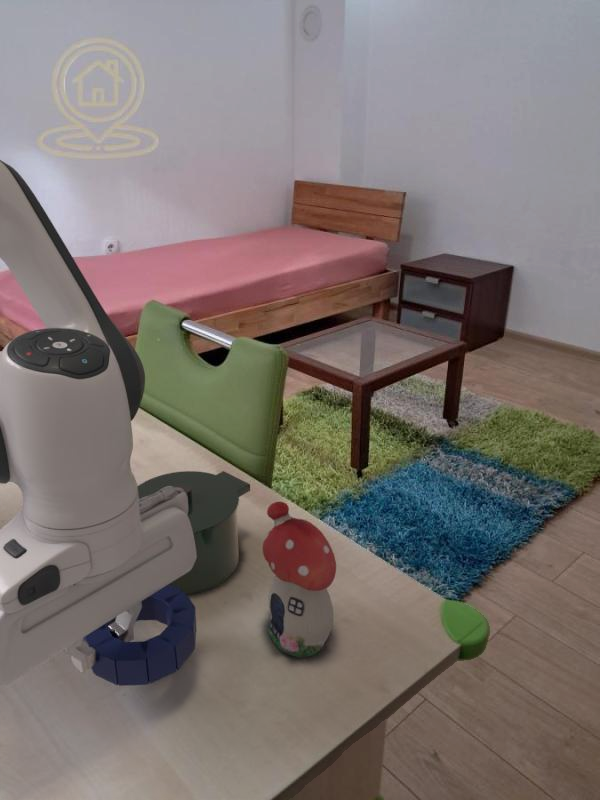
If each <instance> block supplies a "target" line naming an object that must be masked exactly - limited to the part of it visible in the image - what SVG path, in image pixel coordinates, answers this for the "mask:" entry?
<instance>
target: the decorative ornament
mask: <svg viewBox="0 0 600 800" xmlns="http://www.w3.org/2000/svg"><path fill="white" fill-rule="evenodd" d="M289 511H290V507H289V505H288V504H287V503H286V502H284V501H275V502H272V503H271V504H270V505H268V508H267V510H266V514H267V516H268V517H269V518H270V519H271V520H272V521H273V523H274V526H273V527H272V529H270V530H269V532H267V534H266V535H265V537H264V540H263V544H262V555H263V557H264V559H265V561H266V562H267V564H268V566H269V568H270V570H271V572H272V574H274V577H273V578H272V581H271V583H270V586H269V590H268V597H267V599H268V600H267V602H268V609H269V613H270V620H269V621H268V623H267V631H268V634H269V637H270V639H271V640H272V641H273V643H274V645H275V646H276V647H277V648H278V649H279V650H280V651H281V652H282V653H284V654H287V655H289V656H291V657H295V658H297V659H300V658H306V657H311V656H312V657H313V656H315V655H318V653H319V652H320V651H321V650H322V649H323V647H324V645H325V642H326V641H327V640H328V638H329V635H330V634H331V631H332V629H333V623H334V607H333V602H332V599H331V596H330V593H329V590H328V588H329V587H330V586H331V585H332V583H333V582H334V580H335V577H336V572H337V562H336V557H335V554H334V551H333V549H332V546H331V544H330V543H329V540H328V539H327V538H326V536H325V535H324V534H323V532H322V531H321V530H320V529H319V528H318V527H317V526H316V525H314V524H313V523H312V522H311V521H309V520H307V519H303V518H297V517H293V516H291V515H290V514H289Z"/></svg>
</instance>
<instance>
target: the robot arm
mask: <svg viewBox="0 0 600 800" xmlns="http://www.w3.org/2000/svg"><path fill="white" fill-rule="evenodd" d="M0 259H1V260H2V262H3V263H4V264H5V265H6V267H7V268H8V270H9V271H10V273H11V275H12V276H13V278H14V279H15V281H16V282H17V284H18V285H19V287H20V289H21V290H22V292H23V294H24V295H25V297H26V298H27V300H28V302H29V303H30V305H31V306H32V308H33V309H34V311H35V313H36V314H37V316H38V317H39V319H40V321H41V322H42V324H43V326H44V327H45V328H40V329H35V330H31V331H27V332H25V333H22V334H20V335H18V336H16V337H15V338H13V339H12V340H11V341H9V342H8V343H7V344H6V345H5V346H4V347H3V349H2V350H1V351H0V484H2V485H5V484H7V483H13V484H15V485H16V486H18V488H19V490H20V491H21V494H22V504H21V510H20V511H19V512H18V513H17V514H16V515H15V516H14V517H13V518H12V519H10V520H9V522H7V523H6V524H5V525H4V526H2V527H1V528H0V687H6V686H8V685H10V684H12V683H13V682H15V681H17V680H18V679H20V677H22V676H24V675H25V674H28V673H29V672H31V671H32V670H33V669H35V668H37V667H38V666H40V665H42V664H44V662H47V661H49V659H51V658H53V657H55V656H56V655H57V654H59V653H61V652H62V651H64V652H65V653H67V655H69V656H70V657H71V662H72V664H73V666H74V668H75V669H77V670H78V671H79V672H80V673H81V674H84V673H86V672H87V671H88V670H90V669H91V667H93V666H94V665H95V664H97V663H98V662H97V659H96V657H97V655H96V650H94V649H93V648H92V647H89V644H88V643H87V642H86V641H83V637H85V636H86V635H88V634H90V633H91V632H93V631H94V630H96V629H98V628H99V627H101V626H102V625H104V624H106V623H107V622H109V621H110V620H112V619H114V618H115V617H116V621H115V622H113V623H112V624H110V625H109V626H108V628H109V631H110V633H111V634H112V636H113V637H115V638H118V639H120V640H122V641H124V642H133V640H135V639H134V638H135V636H134V626H135V624H136V622H137V621H136V620H137V617H138V615H139V613H140V610H141V608H142V602H141V601H142V600H144V599H146V598H147V597H149V596H150V595H152V594H154V593H155V592H157V591H158V590H160V589H162V588H163V587H165V586H166V585H168V584H170V583H171V582H173V581H174V580H176V579H178V578H179V577H181V576H183V575H184V574H186V573H187V572H189V571H190V570H191V569H192V567H193V565H194V563H195V560H196V557H197V555H196V546H195V540H194V535H193V531H192V527H191V523H190V520H189V518H188V516H187V515H188V497H187V494H186V493H185V491H184V490H183V489H181V488H178V487H175V488H173V487H172V486H167V487H164V488H162V489H160V490H159V491H158V492H156V493H154V494H152V495H149V496H146V497H144V498H142V499H139V495H138V486H139V485H138V482H137V479H136V477H135V475H134V473H133V471H132V466H131V459H132V454H133V451H134V436H133V435H134V434H133V428H132V421H133V420H134V419H135V417H136V415H137V413H138V411H139V409H140V406H141V404H142V401H143V397H144V393H145V387H146V372H145V368H144V365H143V363H142V360H141V357H140V355H139V354H138V353H137V350H136V349H135V347H134V346H133V345H132V344H131V342H130V341H129V339H128V338H127V337H126V336H125V335H124V334H123V332H122V331H121V330H120V329H119V327H117V325H116V324H115V323H114V322H113V320H112V319H111V318H110V316H109V315H108V314H107V312H106V311H105V309H104V308H103V306H102V304H101V302H100V301H99V299H98V297H97V296H96V294H95V293H94V291H93V289H92V288H91V286H90V284H89V283H88V281H87V279H86V277H85V276H84V273H82V271H81V269H80V268H79V265H78V264H77V262H76V261H75V259H74V257H73V256H72V254H71V252H70V251H69V249H68V247H67V246H66V243H65V242H64V240H63V239H62V237H61V236H60V234H59V231H58V230H57V229H56V227H55V226H54V224H53V222H52V220H51V218H50V217H49V216H48V213H47V212H46V210H45V209H44V208H43V206H42V205H41V203H40V201H39V200H38V198H37V196H36V195H35V193H34V191H33V190H32V189H31V187H30V186H29V184H28V183H27V182H26V180H25V179H24V178H23V177H22V175H21V174H20V173H19V172H18V171H17V170H16V169H15V168H14V167H12V165H10V164H8V163H6V162H4V161H3V160H1V159H0Z"/></svg>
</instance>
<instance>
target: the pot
mask: <svg viewBox="0 0 600 800" xmlns="http://www.w3.org/2000/svg"><path fill="white" fill-rule="evenodd" d="M137 486H138V495H139V499H142V498H144V497H146V496H149V495H152V494H154V493H156V492H158V491H159V490H160V489H162V488H164V487H167V486H172V487H173V488H175V487H178V488H181V489H183V490H184V491H185V493H186V494H187V497H188V515H187V516H188V518H189V520H190V523H191V527H192V531H193V535H194V540H195V546H196V555H197V557H196V560H195V563H194V565H193V567H192V569H191V570H190V571H189V572H187V573H186V574H184V575H183V576H181V577H179V578H178V579H176V580H174V581H173V582H171V583H170V584H168V585H171V586H173V587H176V588H178V589H181V590H183V591H184V592H185V594H186V595H187V596H188V595H189V596H190V595H194V594H199V593H203V592H206V591H209V590H212V589H213V588H216V587H217V586H219V585H220V584H222V583H224V582H226V580H227V579H228V578H230V577H231V576H232V574H233V573H234V572H235V570H236V569H237V567H238V564H239V559H240V558H239V557H240V556H239V554H240V553H239V529H238V528H239V527H238V507H239V504H240V497H241V496H243V495H246V494H248V493H249V492H250V491H251V484H250V483H248V482H246V481H244V480H242V479H240V478H239V477H236V476H235V475H233V474H230V473H229V472H226V471H224V470H223V471H220V472H219V473H217V474H215V473H212V472H211V473H210V472H205V471H193V470H191V471H190V470H186V471H183V470H182V471H175V472H169V473H164V474H161V475H158V476H155V477H151V478H150V479H148V480H145V481H144V482H142V483H140V484H138V485H137Z"/></svg>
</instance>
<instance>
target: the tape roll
mask: <svg viewBox="0 0 600 800" xmlns="http://www.w3.org/2000/svg"><path fill="white" fill-rule="evenodd" d="M141 602H142V608H141V610H140V613H139V615H138V617H137V620H136V622H138V621H156V622H158V623H160V624H163V625H166V627H165V628H164V630H162V632H161V633H160V634H157V635H155V636H154V637H150V638H148V639H146V640H142V641H130V642H124V641H122V640H120V639H118V638H115V637H113V636H112V634H111V633H110V631H109V628H108V626H109V625H110V624H112V623H113V622H115V621H116V617H115V618H114V619H112V620H110V621H109V622H107V623H106V624H104V625H102V626H101V627H99V628H98V629H96V630H94V631H93V632H91V633H90V634H88V635H86V636H85V637H83V638H82V642H83V641H86V642H87V643H88V644H89V647H92V648H93V649H94V650H96V655H97V657H96V659H97V662H98V663H97V664H95V665H94V666H93V667H91V668H90V669H91V671H92V673H93V674H94V675H95V676H96V677H99V679H103V680H105V681H107V682H109V683H111V684H114V685H116V686H119V687H122V686H123V687H124V686H125V687H126V686H148V685H149V684H153V683H156V682H157V681H160V680H161V679H164V678H165V677H168V676H170V675H172V674H175V673H176V672H177V671H179V670H180V669H181V667H183V665H184V664H185V662H186V661H187V660H188V659H189V658H190V656H191V655H192V654H193V653H194V651H195V649H196V641H197V640H196V639H197V614H196V606H195V605H194V602H193V601H192V600H191V599H190V598H189V596H188V595H186V594H185V592H184V591H183V590H181V589H178V588H176V587H173V586H171V585H166V586H165V587H163V588H162V589H160V590H158V591H157V592H155V593H154V594H152V595H150V596H149V597H147V598H146V599H144V600H142V601H141Z"/></svg>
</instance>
